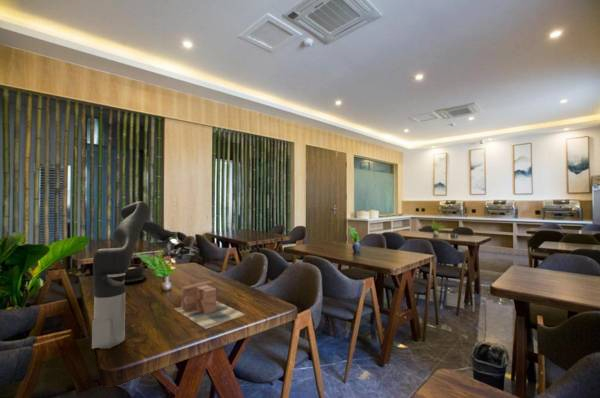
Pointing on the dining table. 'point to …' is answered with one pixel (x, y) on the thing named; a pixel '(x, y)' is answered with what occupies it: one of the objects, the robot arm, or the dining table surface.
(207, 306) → the T block
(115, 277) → the coffee mug
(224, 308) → the board
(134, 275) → the casserole
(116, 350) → the dining table surface
